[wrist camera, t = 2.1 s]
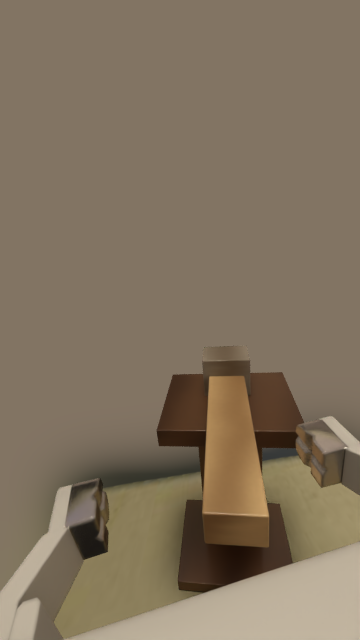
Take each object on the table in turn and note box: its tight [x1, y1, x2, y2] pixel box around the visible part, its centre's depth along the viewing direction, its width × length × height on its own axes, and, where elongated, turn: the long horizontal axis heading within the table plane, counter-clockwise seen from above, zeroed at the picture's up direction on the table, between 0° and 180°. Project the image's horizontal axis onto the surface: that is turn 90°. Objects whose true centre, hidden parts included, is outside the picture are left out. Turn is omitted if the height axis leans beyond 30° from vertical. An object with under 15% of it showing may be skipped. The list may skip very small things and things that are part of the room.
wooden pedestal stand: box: [157, 372, 304, 592], centre depth 28 cm, size 11×9×18 cm
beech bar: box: [202, 346, 269, 547], centre depth 21 cm, size 4×16×4 cm, turn 173°
